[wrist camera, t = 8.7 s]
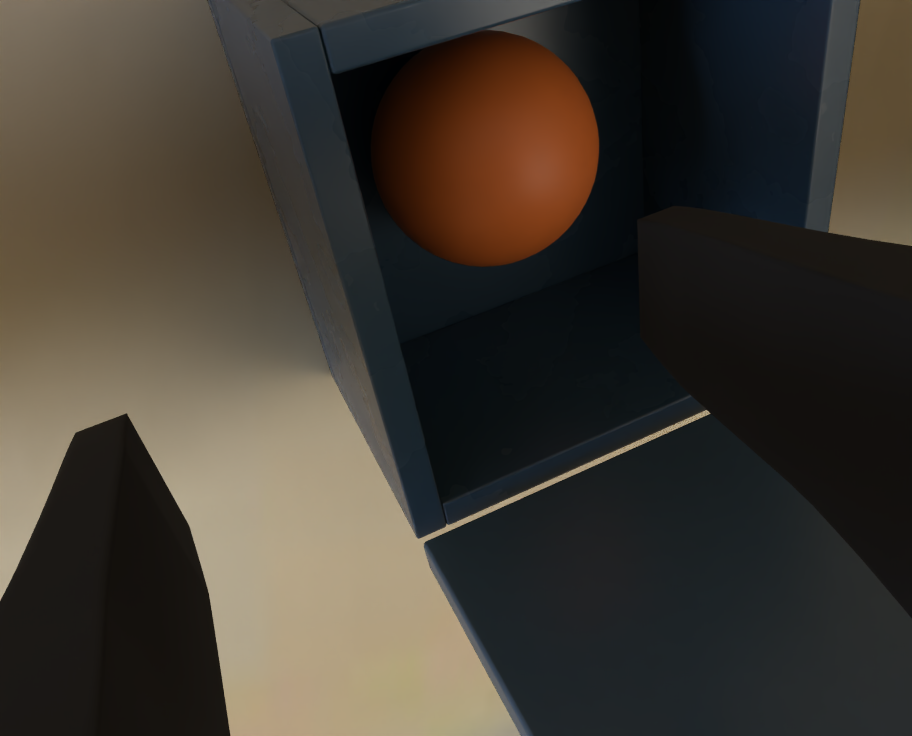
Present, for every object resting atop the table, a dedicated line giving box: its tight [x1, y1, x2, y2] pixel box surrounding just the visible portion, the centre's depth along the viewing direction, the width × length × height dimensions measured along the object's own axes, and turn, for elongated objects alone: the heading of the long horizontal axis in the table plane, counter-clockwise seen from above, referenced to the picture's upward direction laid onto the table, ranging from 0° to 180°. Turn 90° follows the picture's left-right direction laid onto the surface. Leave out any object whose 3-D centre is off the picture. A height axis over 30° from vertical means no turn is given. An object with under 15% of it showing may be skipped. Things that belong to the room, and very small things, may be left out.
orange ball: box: [371, 30, 599, 267], centre depth 17 cm, size 5×5×5 cm
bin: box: [207, 0, 860, 539], centre depth 18 cm, size 10×10×7 cm
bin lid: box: [424, 414, 912, 736], centre depth 13 cm, size 11×10×1 cm
